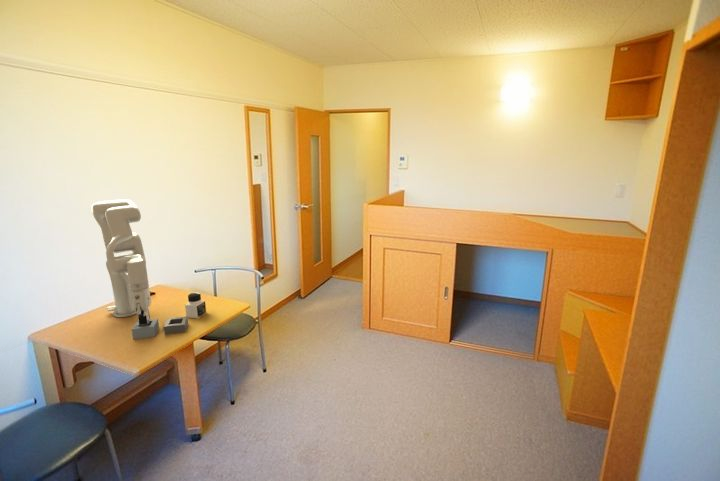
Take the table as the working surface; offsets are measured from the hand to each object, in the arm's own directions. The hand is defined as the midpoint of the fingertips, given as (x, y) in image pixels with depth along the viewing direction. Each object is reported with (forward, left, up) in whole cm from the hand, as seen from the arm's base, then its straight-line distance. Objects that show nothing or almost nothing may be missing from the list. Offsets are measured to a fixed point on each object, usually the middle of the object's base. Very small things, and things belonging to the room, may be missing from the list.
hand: (144, 321), depth 172 cm
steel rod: (0, 0, -6) cm, 6 cm away
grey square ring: (+13, +1, -6) cm, 15 cm away
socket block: (0, 0, -6) cm, 6 cm away
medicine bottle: (+20, +15, -6) cm, 26 cm away
